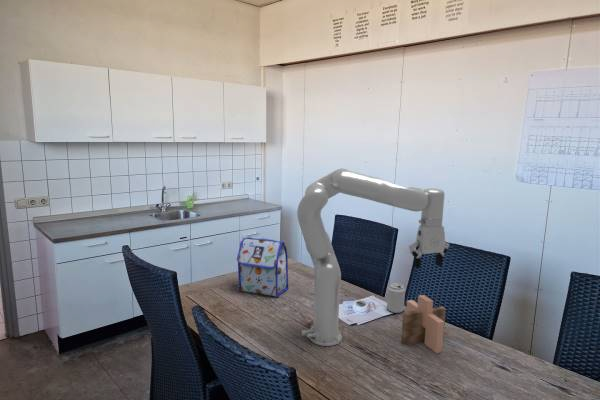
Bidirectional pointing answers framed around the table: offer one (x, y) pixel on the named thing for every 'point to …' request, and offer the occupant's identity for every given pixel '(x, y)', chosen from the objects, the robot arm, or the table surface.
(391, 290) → the can
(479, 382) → the table surface
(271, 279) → the lunch bag
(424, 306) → the pink notched panel
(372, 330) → the table surface
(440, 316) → the board
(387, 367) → the table surface
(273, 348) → the table surface
